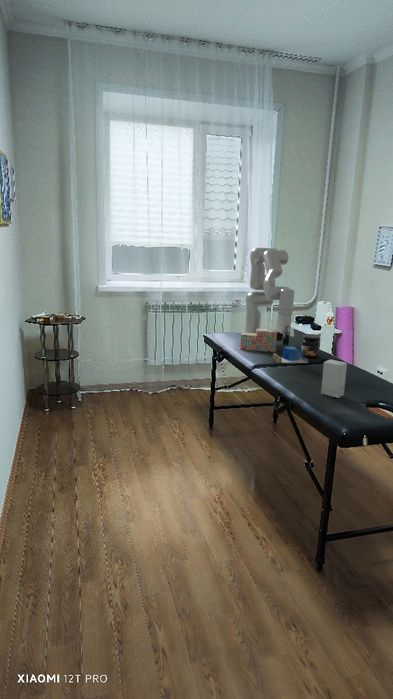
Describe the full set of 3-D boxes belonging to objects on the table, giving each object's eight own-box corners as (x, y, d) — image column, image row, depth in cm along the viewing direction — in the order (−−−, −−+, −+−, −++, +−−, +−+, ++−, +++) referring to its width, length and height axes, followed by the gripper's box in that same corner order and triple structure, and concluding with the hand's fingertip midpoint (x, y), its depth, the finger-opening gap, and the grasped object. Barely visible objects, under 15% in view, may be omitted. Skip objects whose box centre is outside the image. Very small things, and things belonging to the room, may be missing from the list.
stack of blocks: (240, 349, 273) (241, 329, 270) (240, 347, 279) (241, 327, 276) (276, 352, 271) (278, 332, 268) (275, 349, 278) (277, 329, 274)
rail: (272, 358, 258) (273, 353, 257) (274, 358, 258) (275, 353, 257) (279, 363, 248) (279, 358, 247) (281, 363, 248) (281, 358, 248)
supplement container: (299, 357, 262) (301, 337, 259) (300, 352, 272) (303, 333, 269) (318, 359, 260) (320, 339, 256) (319, 355, 269) (321, 335, 266)
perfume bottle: (283, 347, 256) (301, 346, 261) (282, 357, 258) (300, 356, 262) (289, 350, 251) (307, 348, 255) (288, 360, 252) (306, 359, 257)
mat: (275, 358, 258) (276, 355, 257) (301, 358, 260) (302, 355, 260) (281, 363, 249) (281, 360, 249) (308, 363, 252) (308, 360, 251)
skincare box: (343, 396, 203) (348, 362, 199) (337, 400, 198) (341, 365, 194) (326, 391, 208) (330, 358, 204) (319, 394, 203) (323, 361, 199)
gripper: (273, 308, 254) (270, 338, 258) (284, 314, 237) (281, 346, 242) (286, 309, 255) (283, 338, 260) (298, 315, 239) (294, 346, 243)
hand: (282, 342), depth 251 cm, fingers open, 9 cm apart
